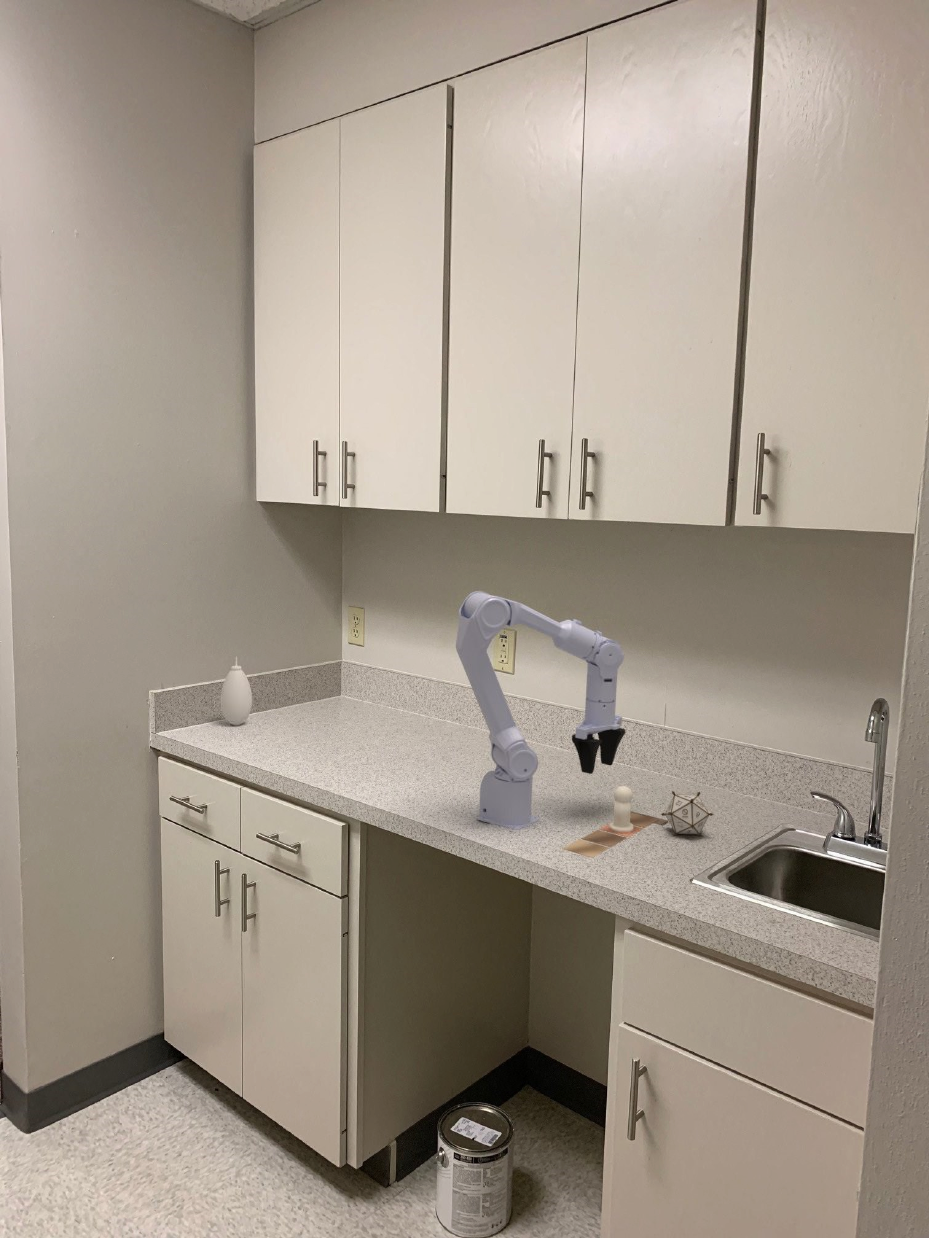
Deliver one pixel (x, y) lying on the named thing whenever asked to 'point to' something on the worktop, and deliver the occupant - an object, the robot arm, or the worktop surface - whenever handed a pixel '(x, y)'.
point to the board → (610, 836)
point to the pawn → (622, 811)
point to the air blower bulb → (236, 696)
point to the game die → (687, 814)
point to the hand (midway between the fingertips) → (597, 768)
